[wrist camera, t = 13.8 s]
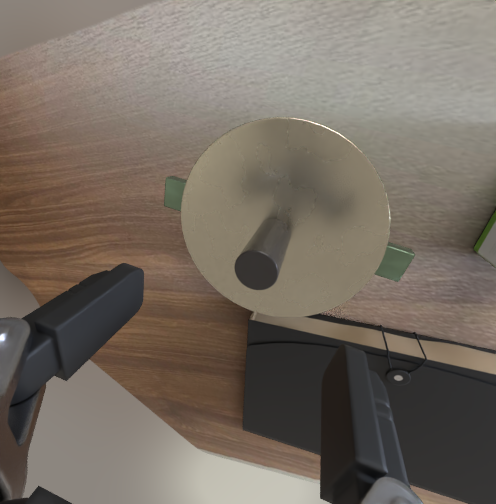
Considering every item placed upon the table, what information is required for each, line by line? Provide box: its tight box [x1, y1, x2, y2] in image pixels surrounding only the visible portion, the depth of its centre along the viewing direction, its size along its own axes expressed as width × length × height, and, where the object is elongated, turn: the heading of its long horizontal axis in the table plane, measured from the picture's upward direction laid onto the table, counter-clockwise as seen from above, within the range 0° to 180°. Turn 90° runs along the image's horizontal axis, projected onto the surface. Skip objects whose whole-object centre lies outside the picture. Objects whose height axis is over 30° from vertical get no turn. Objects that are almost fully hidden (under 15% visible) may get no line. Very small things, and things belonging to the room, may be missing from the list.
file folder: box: [243, 311, 496, 504], centre depth 32 cm, size 33×4×24 cm
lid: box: [181, 117, 390, 318], centre depth 16 cm, size 15×15×7 cm
